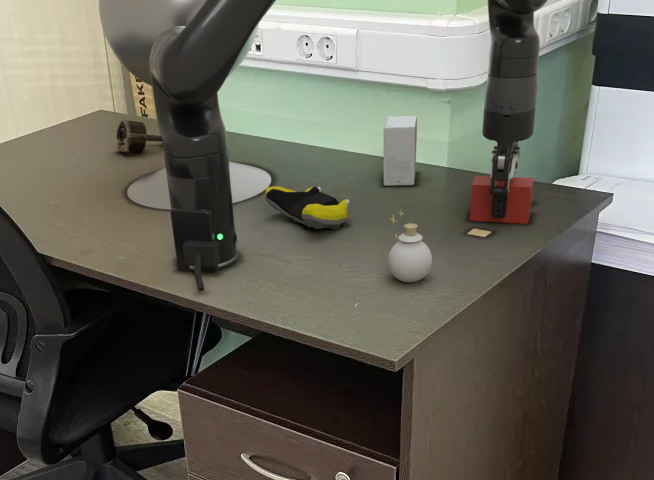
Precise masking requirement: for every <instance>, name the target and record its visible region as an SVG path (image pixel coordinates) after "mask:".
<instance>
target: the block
mask: <svg viewBox="0 0 654 480" xmlns="http://www.w3.org/2000/svg"><path fill="white" fill-rule="evenodd" d="M534 179H535V178H534V177H523V176H521V177H519V176H517V177H516V176H514V179H513V181H512V182H510V184H509V193H508V196H507V208H506V216H505V218H503V219H496V218H492V217H491V208H492V195H490V189H491V177H490V175H475V177H474V179H473V182H472V184H471V190H470V193H471V194H470V208H469V221H470V222H484V223H500V224H501V223H502V224H519V225H528V224H529V220H530V216H531V209H532V203H531V202H532V200H533V198H532V197H533V189H534V181H535V180H534ZM504 183H505V182H504V181H497V183H496V187H504Z"/></svg>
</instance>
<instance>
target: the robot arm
mask: <svg viewBox="0 0 654 480" xmlns="http://www.w3.org/2000/svg"><path fill="white" fill-rule="evenodd" d="M276 2H277V0H206V2H205V3H204V4H203V6H202V7H201V8H200V9H199V11H198V12H197V13H196V15H195V16H194V17H193V19H192V20H191V21H190V22H189V23H188V25H187V26H176V27H172V28H169V29H167V30H166V31H164V32H163V33H162V34H160V35H159V37H158V38H157V39H156V40H155V42H154V44H153V46H152V49H151V53H150V74H151V82H152V86H151V88H152V95H153V102H154V108H155V115H156V123H157V127H158V130H159V135H160V136H161V138H162V142H161V143H162V150H163V155H164V165H165V167H166V174H167V182H168V189H169V197H170V205H171V210H170V211H169V212H170V220H171V227H172V235H173V245H174V250H175V251H174V252H175V260H176V266H177V270H178V271H188V272H194V279H195V283H196V287H197V291H198V292H203V291H205V285H204V281H203V277H202V273H213V274H214V273H216V272H217V271H220V270H221V269H225V268H227V267H230V266H232V265H233V264H234V263H236V262H237V260H238V258H239V252H238V250H237V249H238V248H237V246H238V235H237V233H236V227H235V215H234V203H232V192H231V181H230V169H229V161H230V158H229V157H230V156H229V147H228V136H227V130H226V126H225V122H224V120H223V116H222V113H221V109H220V104H219V103H220V102H219V95H218V94H219V93H218V92H220V90H221V88H222V86H224V83H225V82H226V80H227V78H228V77H229V76H230V75H229V73H230V71H231V69H232V67H233V66H234V64H235V62H236V60H237V58H238V57H239V55H240V53H241V51H242V49H243V48H244V46H245V44H246V42H247V41H248V39H249V37H250V36H251V34H252V32H253V31H254V29H255V28H256V26H257V25H258V23H259V24H260V23H261V21H262V20H263V18H264V17H265V16H266V15H267V13H268V12H269V11H270V10H271V8H272V7H273V5H274V4H275V3H276ZM547 2H548V0H487V13H488V15H487V16H488V27H489V36H490V45H489V54H488V68H487V69H488V70H487V79H486V84H485V89H484V101H483V102H484V103H483V106H484V107H483V116H482V117H483V118H482V132H481V134H482V136H483V138H485V139H487V140H489V141H494V142H496V143H497V145H494V146H493V150H491V156H490V160H491V168H490V175H489V176H490V177H491V189H490V195H492V208H491V217H492V218H496V219H503V218H505V216H506V208H507V196H508V193H509V184H510V182H512V181H513V179H514V177H515V175H516V173H517V171H516V170H517V169H518V167H519V158H520V155H521V146H519V142H522V141H526V140H528V139H530V138H531V137H532V136H533V135H534V129H535V118H536V109H537V98H538V68H539V58H540V49H541V48H540V47H541V44H540V43H541V41H540V35H539V33H538V31H537V30H536V28H535V13H536V12H538V11H539V10H540V9H542V8H543V7H544V6H545V5H546V3H547ZM258 26H259V25H258ZM228 75H229V76H228ZM227 76H228V77H227ZM497 181H504V182H505V183H504V187H496V183H497Z"/></svg>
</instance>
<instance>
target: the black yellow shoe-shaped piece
mask: <svg viewBox="0 0 654 480" xmlns="http://www.w3.org/2000/svg"><path fill="white" fill-rule="evenodd" d="M264 193H265V194H264V201H265V202H266V203H268V204H269V205H270V206H271V207H272V208H273V209H275V210H276V211H278V212H280V213H282V214H284V215H285V216H287V217H289V218H290V219H293V221H294V223H298V224H303V225H305V226H307V227H308V228H313V229H316V230H319V229H324V228H326V229H329V230H333V229H334V230H335V229H338V228H340V227H341V225H342V224H344V223H346V222H347V220H348V219H349V212H348V207H349V204H350V199H346V198H343V199H341V200H340V201H339V200H337V198H336V197H334V196H332V195H329V194H327V193H325V192H322V187H320V186H312V187H309V188H307V189H306V190H305V191H295V190H293V189H289V188H286V187H282V186H279V185H278V186H277V185H275V186H268V187H267V188H266V189H265V192H264Z"/></svg>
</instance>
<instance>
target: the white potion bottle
mask: <svg viewBox="0 0 654 480" xmlns="http://www.w3.org/2000/svg"><path fill="white" fill-rule="evenodd" d="M397 213H398V214H399V215H400V216H399V217H402V215H404V213H403V212H402V210H400V211H397ZM388 219H389V220H390V221H391V222H392V226H395V225H394V224H395V222H398V220H396V219H395V215H394V213H393V214H392V218H389V217H388ZM403 227H404V231H405V232H404V233H401V234H400V235H399V236H398V234H397V232H396V233H395V234H394V236H395V239H396V240H397V239H398V240H399V241H398V242H396V243H395V244H394V245H392V248H391V249H390V251H389V253H388V257H387V264H388V268H389V271H390V273H391V274H392V276H393V277H394V278H396V279H397V280H399V281H401V282H403V283H415V282H419V281H421V280H422V279H424V277H426V276H427V275H428V273H429V272H430V270H431V268H432V265H433V256H432V255H433V254H432V251H431V250H430V248H429V246H428V245H427V244H426V243H425V242H424V241H422V240H423V238H424V236H423V235H422V234H420V233H418V232H417V229H418V227H419V226H418V224H416V223H412V222H411V223H406V224H404V225H403Z"/></svg>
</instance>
